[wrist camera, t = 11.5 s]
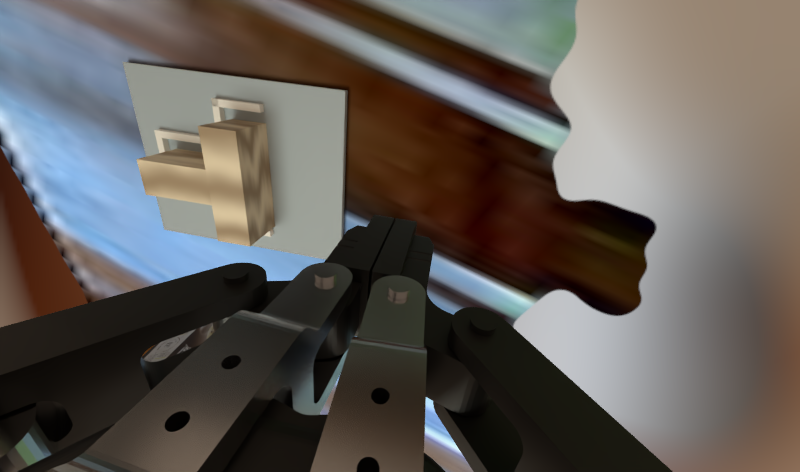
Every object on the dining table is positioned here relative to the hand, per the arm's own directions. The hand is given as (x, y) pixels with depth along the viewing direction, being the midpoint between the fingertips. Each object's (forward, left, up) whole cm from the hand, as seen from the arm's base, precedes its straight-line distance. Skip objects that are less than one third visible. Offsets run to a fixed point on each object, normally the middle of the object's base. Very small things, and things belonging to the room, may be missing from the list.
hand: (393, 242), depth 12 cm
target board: (+11, -29, -35) cm, 47 cm away
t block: (+12, -32, -34) cm, 48 cm away
